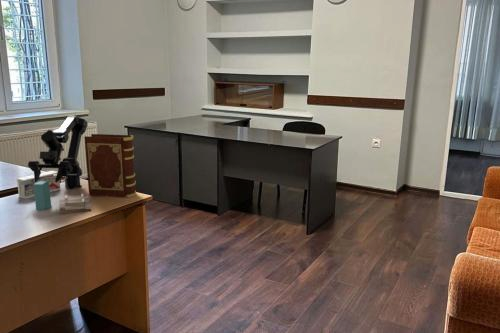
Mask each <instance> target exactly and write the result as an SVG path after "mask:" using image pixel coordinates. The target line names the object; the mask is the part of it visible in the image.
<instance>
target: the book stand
mask: <svg viewBox="0 0 500 333" xmlns="http://www.w3.org/2000/svg"><path fill="white" fill-rule="evenodd" d="M58 207H59V208H58V209H59V210H58V213H59V215H67V214H75V213H83V212H91V211H92V207H91V201H90V196H84V193H80V197H74V198H68V194H67V195H64V199H59V206H58Z"/></svg>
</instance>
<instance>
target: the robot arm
mask: <svg viewBox="0 0 500 333" xmlns="http://www.w3.org/2000/svg"><path fill="white" fill-rule="evenodd" d="M88 124H89V122H88V121H87V119H85V118H81V117H79V116H77V115H67V116H66V119H65V120H64V122H63V123H62V124H61V125H60V127H59V128H57V129H54V130H52V129H48V130H47V131H45V132H43V134H41V136H40V140H41V141H42V142H43V143H44V145H45V146H46V148H48V150H47V151H40V152H39V159H40V160H41V161H42V162H43V163H40V162H39V161H38V160H29V161H28V162H27V167H28V168H29V170H31V171H32V172H33V175H34V178H35V182H37V181H38V179H39V176H40V174H41V173H42V169H57V172H58V173H56V175H57V176H56V179H55V182H56V183H57V182H58V181H59V180H61V179H62V178H63V177H65V178H64V185H65V186H64V187H65V188H67V189H70V190H72V189H77V188H82V187H83V185H82V184H81V176H83V170H82V168H81V167H80V163H79V161H78V155H79V150H80V145H81V140H82V136H83V135H84V134H85V133H86V131H87V127H88ZM71 132H72V133H71ZM70 133H71V138H69V134H70ZM69 139H70V143H69V147H68V152H67V156H66V157H65V158H63V159H61V156H62V152H64V151H65V148H64V146H63V144H66V143H67V142H68V141H69Z"/></svg>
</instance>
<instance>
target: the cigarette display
mask: <svg viewBox="0 0 500 333" xmlns="http://www.w3.org/2000/svg"><path fill="white" fill-rule="evenodd" d="M57 173H58V171H56V170H48V171H44V172H41V174H40V176H39V179H38V181H49V189H50V193H52V192H56V191H60V190H59V189H61V181H60V180H61V179H60V180H59V181H58V182H57V183H56V182H55V179H56V176H57ZM38 181H37V182H38ZM16 183H17V190H18V197H19V198H23V199H29V197H30V198H32V197H33V198H35V195H34V186H33V184H35V183H36V182H35V178H34V174H32V175H28V176H22V177H18V178H17V177H16Z"/></svg>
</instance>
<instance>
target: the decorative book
mask: <svg viewBox="0 0 500 333" xmlns="http://www.w3.org/2000/svg"><path fill="white" fill-rule="evenodd" d="M90 135H91V136H88V135H87V136H86V135H85V136H84V149H85V150H84V151H85V162H86V173H87V183H88V184H87V186H88V194H89V197H91V196H95V197H114V198H115V197H116V198H133V197H134V196H136V195H137V191H136V185H137V184H136V182H137V181H136V179H135V178H136V173H135V165H134V164H135V163H134V162H135V160H134V158H135V155H134V148H135V147H134V143H133V140H134V135H132V134H128V135H127V134H104V133H102V134H101V133H91V134H90Z"/></svg>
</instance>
